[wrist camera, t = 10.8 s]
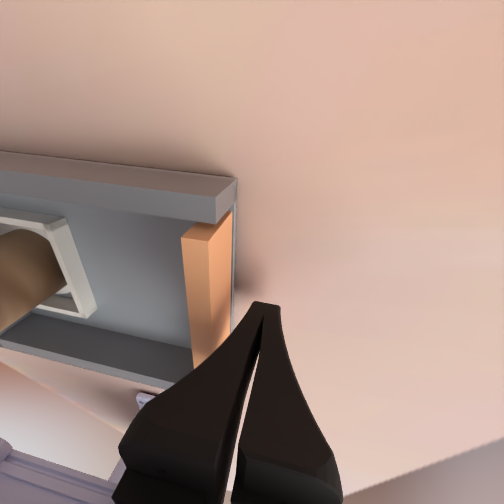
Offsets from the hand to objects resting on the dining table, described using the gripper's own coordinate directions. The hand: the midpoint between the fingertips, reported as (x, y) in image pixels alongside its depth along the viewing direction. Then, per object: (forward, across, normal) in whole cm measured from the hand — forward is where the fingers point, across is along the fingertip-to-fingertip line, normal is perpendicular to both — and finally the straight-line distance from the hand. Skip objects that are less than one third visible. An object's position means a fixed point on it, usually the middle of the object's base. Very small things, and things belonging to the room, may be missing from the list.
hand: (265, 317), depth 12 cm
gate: (+1, +3, 0) cm, 3 cm away
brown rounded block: (+1, +15, 0) cm, 15 cm away
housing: (+2, +11, 0) cm, 11 cm away
